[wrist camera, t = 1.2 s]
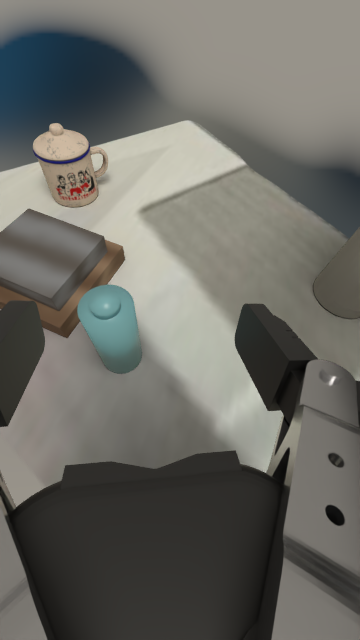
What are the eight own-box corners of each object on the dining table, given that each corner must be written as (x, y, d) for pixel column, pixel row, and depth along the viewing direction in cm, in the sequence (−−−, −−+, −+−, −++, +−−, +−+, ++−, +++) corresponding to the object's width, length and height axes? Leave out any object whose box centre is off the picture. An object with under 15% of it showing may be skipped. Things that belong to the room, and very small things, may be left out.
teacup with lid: (60, 214, 47) (33, 146, 37) (45, 187, 51) (17, 117, 41) (121, 196, 51) (111, 130, 41) (103, 172, 54) (90, 105, 44)
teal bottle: (115, 331, 36) (95, 271, 25) (148, 346, 35) (143, 290, 24) (95, 363, 34) (62, 312, 22) (130, 380, 33) (114, 335, 22)
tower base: (44, 229, 45) (29, 198, 40) (125, 259, 43) (120, 231, 38) (-27, 296, 37) (-57, 268, 32) (67, 338, 35) (50, 315, 30)
